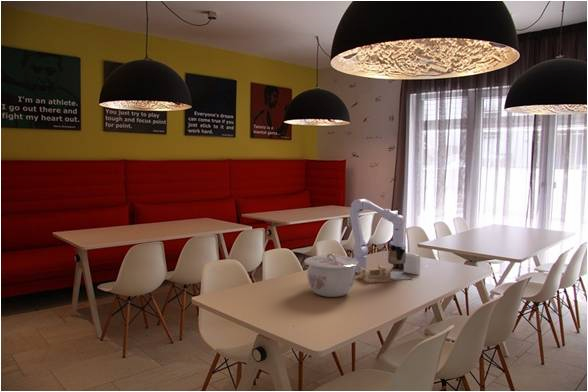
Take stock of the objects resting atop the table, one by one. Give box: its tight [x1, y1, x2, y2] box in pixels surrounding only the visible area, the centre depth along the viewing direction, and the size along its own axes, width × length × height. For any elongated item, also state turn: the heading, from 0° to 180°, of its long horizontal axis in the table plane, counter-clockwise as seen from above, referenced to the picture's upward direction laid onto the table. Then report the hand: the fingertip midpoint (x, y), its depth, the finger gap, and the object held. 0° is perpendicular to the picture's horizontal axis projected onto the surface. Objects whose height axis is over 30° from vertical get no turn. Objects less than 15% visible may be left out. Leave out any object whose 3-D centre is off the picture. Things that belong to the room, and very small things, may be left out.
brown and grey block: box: [387, 250, 407, 265], centre depth 267 cm, size 4×9×7 cm, turn 108°
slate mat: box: [390, 271, 412, 281], centre depth 268 cm, size 14×11×1 cm
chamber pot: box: [303, 252, 358, 298], centre depth 234 cm, size 28×28×21 cm
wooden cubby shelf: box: [358, 265, 392, 284], centre depth 262 cm, size 13×13×6 cm
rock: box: [392, 263, 404, 270], centre depth 292 cm, size 18×11×8 cm, turn 150°
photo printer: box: [403, 252, 421, 276], centre depth 276 cm, size 10×4×12 cm, turn 39°
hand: (397, 259), depth 267 cm, fingers closed on brown and grey block, 4 cm apart
